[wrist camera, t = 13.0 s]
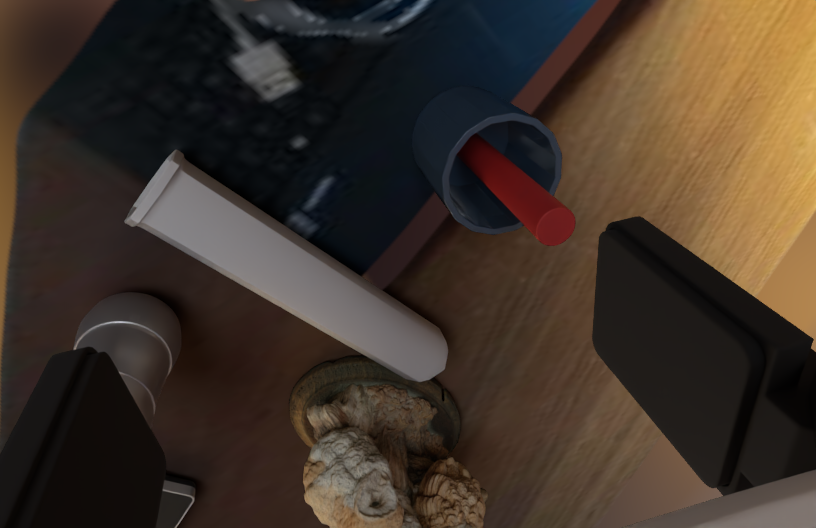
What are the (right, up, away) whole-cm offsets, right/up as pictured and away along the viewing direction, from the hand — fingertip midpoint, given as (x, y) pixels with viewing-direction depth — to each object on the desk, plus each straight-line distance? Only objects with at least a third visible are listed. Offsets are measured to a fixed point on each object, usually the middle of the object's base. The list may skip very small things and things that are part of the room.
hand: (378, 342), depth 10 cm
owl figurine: (-2, -12, +39) cm, 40 cm away
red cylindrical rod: (+4, +10, +27) cm, 29 cm away
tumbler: (+4, +10, +27) cm, 30 cm away
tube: (-7, +1, +30) cm, 31 cm away
